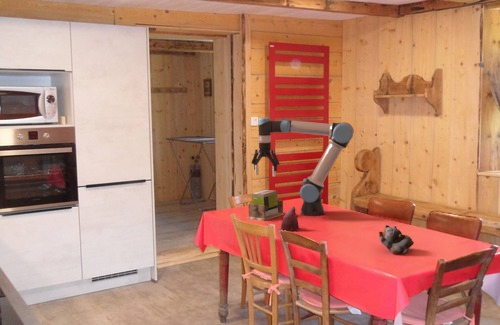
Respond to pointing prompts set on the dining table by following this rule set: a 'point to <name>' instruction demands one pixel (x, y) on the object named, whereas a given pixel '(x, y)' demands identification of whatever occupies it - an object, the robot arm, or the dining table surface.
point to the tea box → (266, 200)
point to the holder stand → (263, 211)
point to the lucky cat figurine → (395, 240)
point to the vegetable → (290, 221)
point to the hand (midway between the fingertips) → (265, 175)
